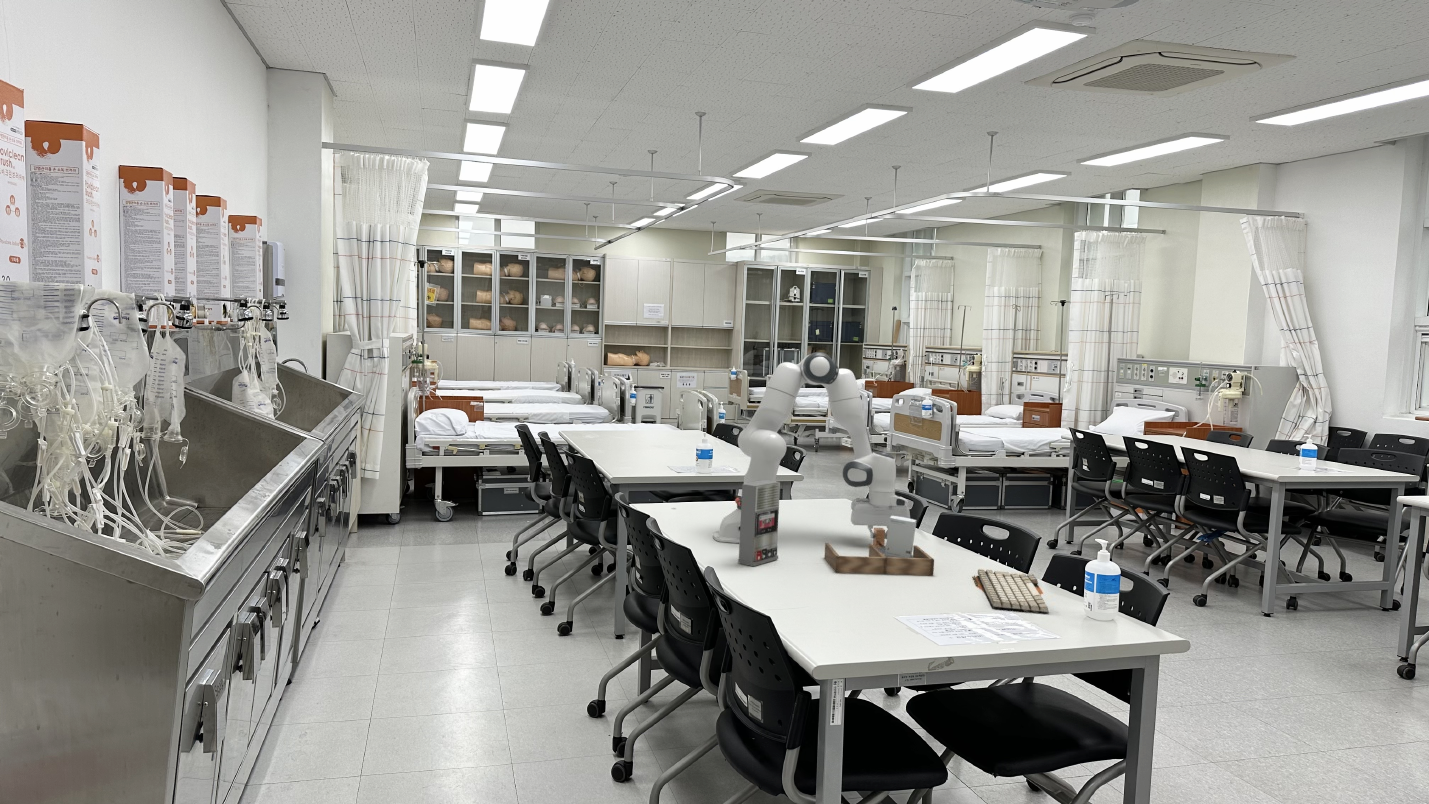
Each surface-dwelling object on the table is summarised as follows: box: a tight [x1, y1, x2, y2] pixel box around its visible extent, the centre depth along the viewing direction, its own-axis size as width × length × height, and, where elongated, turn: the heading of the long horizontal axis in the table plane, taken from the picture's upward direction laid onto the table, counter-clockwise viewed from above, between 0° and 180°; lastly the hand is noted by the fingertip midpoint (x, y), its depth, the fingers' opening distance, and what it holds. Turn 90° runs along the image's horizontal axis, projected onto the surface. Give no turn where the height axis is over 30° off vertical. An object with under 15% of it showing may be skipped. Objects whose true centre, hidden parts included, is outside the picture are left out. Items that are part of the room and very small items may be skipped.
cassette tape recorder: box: [737, 480, 781, 568], centre depth 281 cm, size 14×6×25 cm, turn 143°
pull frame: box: [872, 527, 915, 558], centre depth 297 cm, size 12×33×6 cm, turn 3°
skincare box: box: [884, 516, 917, 558], centre depth 286 cm, size 8×6×15 cm
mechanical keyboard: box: [971, 568, 1050, 614], centre depth 257 cm, size 38×19×3 cm, turn 171°
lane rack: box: [823, 542, 935, 576], centre depth 283 cm, size 30×19×5 cm, turn 93°
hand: (879, 538), depth 311 cm, fingers closed on pull frame, 3 cm apart
